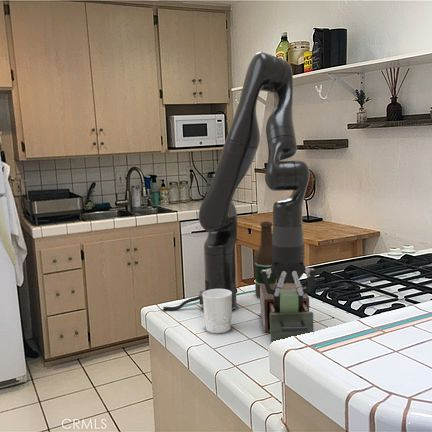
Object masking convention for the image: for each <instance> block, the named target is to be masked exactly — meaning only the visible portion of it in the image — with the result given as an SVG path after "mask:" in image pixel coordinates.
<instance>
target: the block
mask: <svg viewBox="0 0 432 432" xmlns="http://www.w3.org/2000/svg"><path fill="white" fill-rule="evenodd" d="M279 296H280V312H298V293H297V291H296V290H280V294H279Z"/></svg>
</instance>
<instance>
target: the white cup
mask: <svg viewBox="0 0 432 432" xmlns="http://www.w3.org/2000/svg"><path fill="white" fill-rule="evenodd" d="M203 291H204V292H203V293H202V295H203V305H202V306H203V316H204V321H205V322H204V323H205V329H206V331H207V332H208V333H212V334H224V333H227V332H229V331H231V328H232V322H231V321H232V313H233V312H232V311H233V310H232V292H231V291H229V290H226V289H210V290H207V291H205V290H203Z"/></svg>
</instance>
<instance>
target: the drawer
mask: <svg viewBox="0 0 432 432" xmlns="http://www.w3.org/2000/svg"><path fill="white" fill-rule="evenodd" d="M268 323H269V326H270V333H269V337H270V339H269V341H270V343H271V342H273V341H276V340H280V339H285V338H288V337H291V336H297V335H301V334H305V333H310V332H313V333H314V312H313V311H310V310H309V311H308V309H307V307H306V305H305V303H304V301H303V307H302V308H300V310H298V312H280V310H277V308H275V307H274V302H268Z"/></svg>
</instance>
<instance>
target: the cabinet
mask: <svg viewBox="0 0 432 432" xmlns="http://www.w3.org/2000/svg"><path fill="white" fill-rule="evenodd" d="M300 284H301V287H302V288H303V287H304V286H303V284H302V283H301V282H300ZM270 287H271V288H273V289H274V287H275V284H270ZM281 290H296V291H297V289H296V286H295V283H286V284H283V285H282V288H281ZM259 301H260V302H259V303H260V304H259V305H260V307H259V308H260V309H259V310H260V318H261V322H262V326H263V331H264V333H265V334H266V333H267V334H270V326H269V323H268V302H274V296H273V295H272V294H268V293H267V290H266V287H265V284H260V298H259ZM303 301H304V303H305V305H306V307H307V309H308V311H309V312H310V297H309V295H308V293H306V294H304V295H303Z"/></svg>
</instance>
